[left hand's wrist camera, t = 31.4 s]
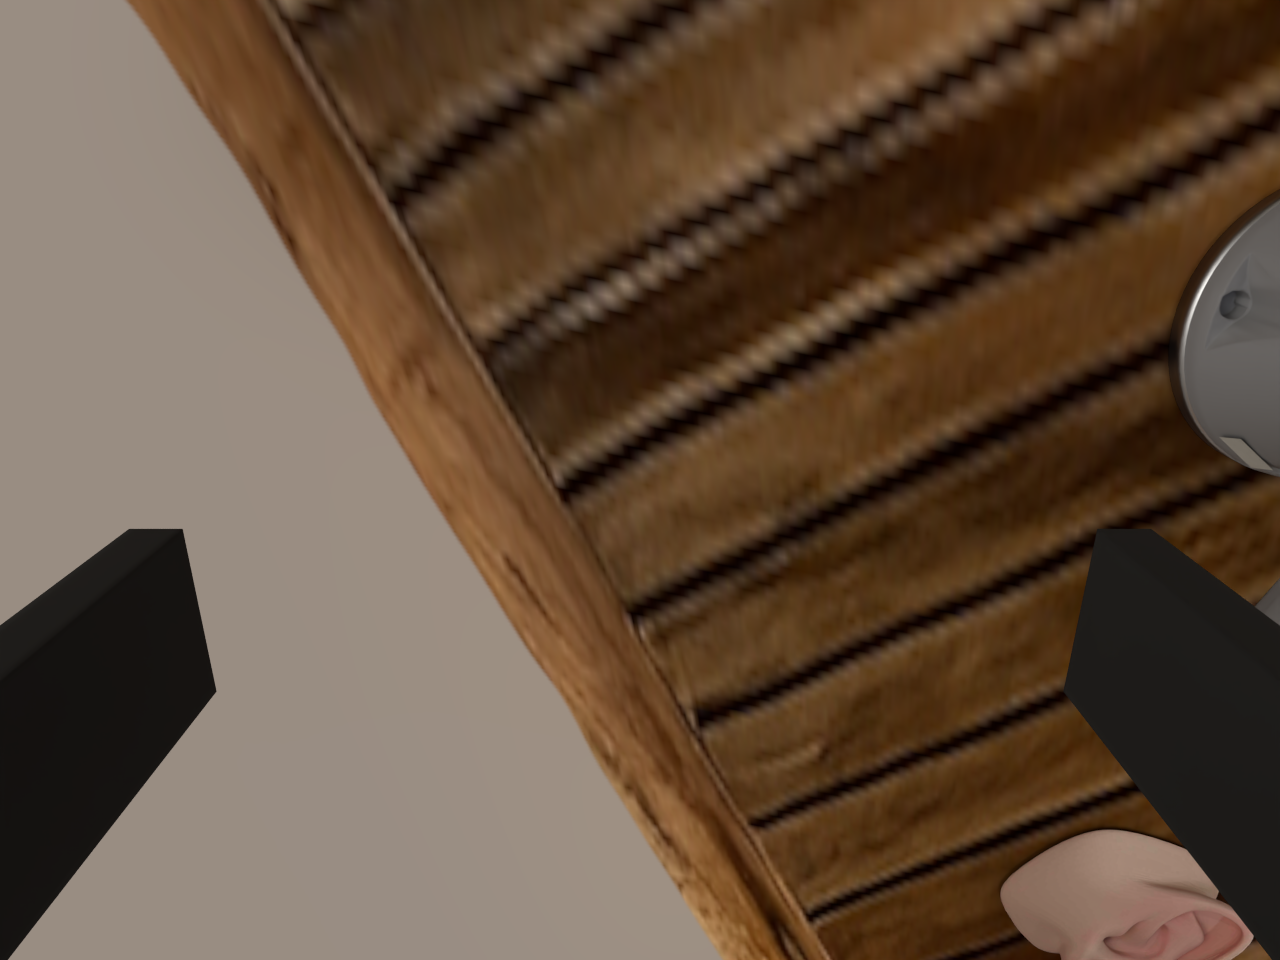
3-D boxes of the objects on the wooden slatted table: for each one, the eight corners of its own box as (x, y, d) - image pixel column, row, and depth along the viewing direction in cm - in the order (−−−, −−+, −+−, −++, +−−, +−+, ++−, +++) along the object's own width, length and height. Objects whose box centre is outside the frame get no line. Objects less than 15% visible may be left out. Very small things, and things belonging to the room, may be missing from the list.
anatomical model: (994, 966, 54) (1121, 842, 50) (971, 913, 57) (1088, 794, 54) (1153, 1042, 56) (1285, 929, 53) (1122, 987, 60) (1242, 878, 56)
